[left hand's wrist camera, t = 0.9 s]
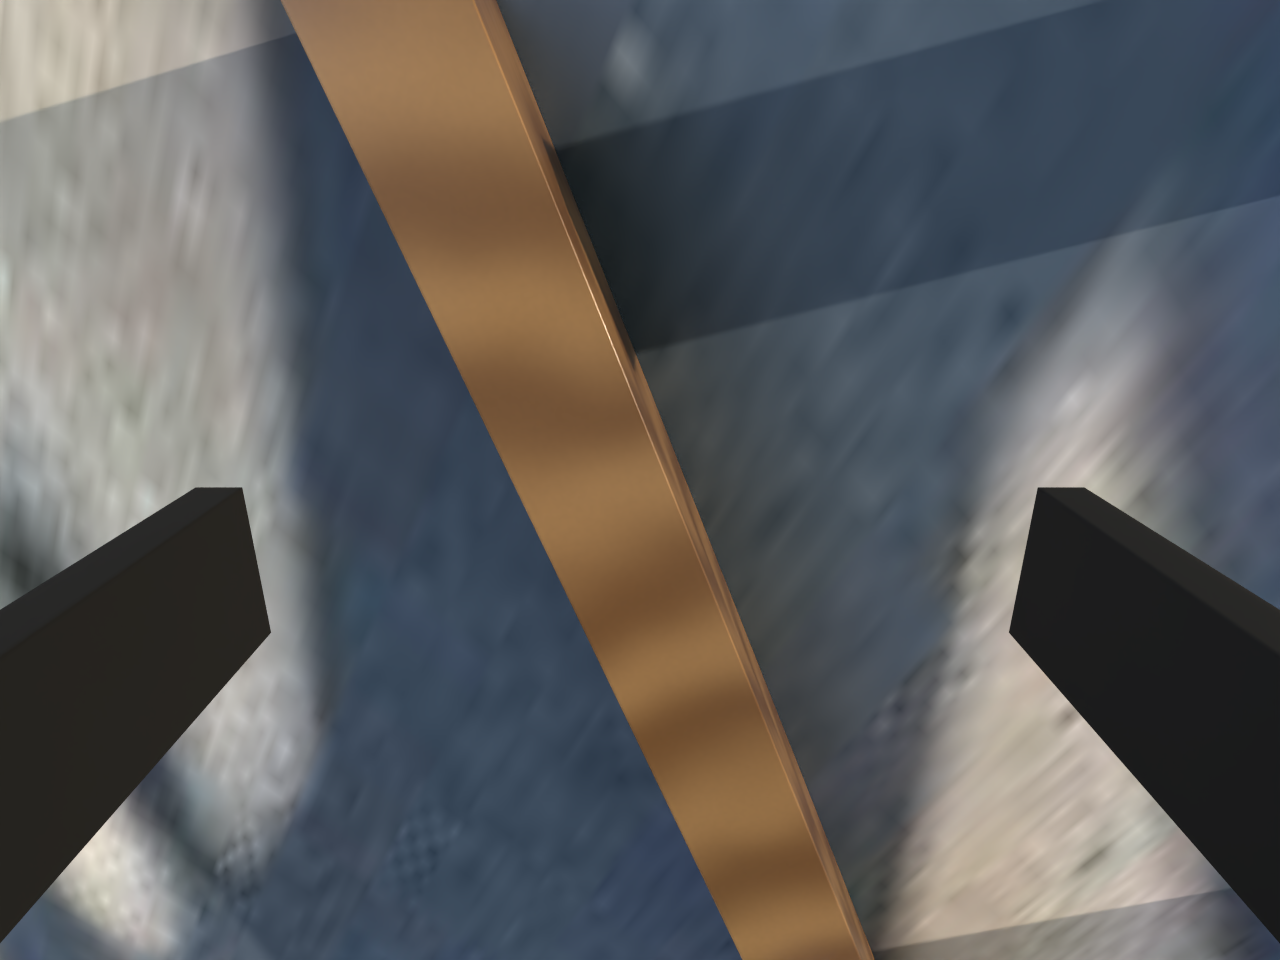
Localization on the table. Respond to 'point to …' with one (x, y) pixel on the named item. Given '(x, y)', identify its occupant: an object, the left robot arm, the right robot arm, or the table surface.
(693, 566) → the bar
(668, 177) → the table surface
